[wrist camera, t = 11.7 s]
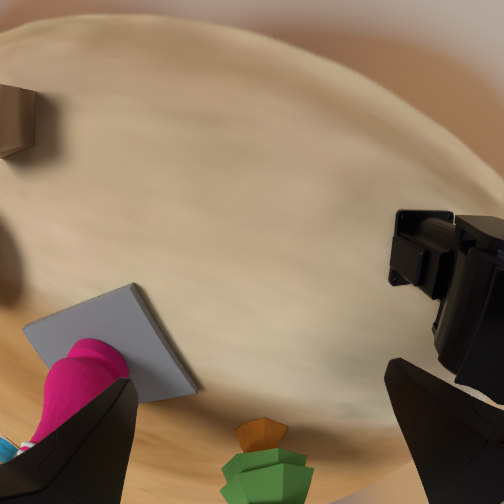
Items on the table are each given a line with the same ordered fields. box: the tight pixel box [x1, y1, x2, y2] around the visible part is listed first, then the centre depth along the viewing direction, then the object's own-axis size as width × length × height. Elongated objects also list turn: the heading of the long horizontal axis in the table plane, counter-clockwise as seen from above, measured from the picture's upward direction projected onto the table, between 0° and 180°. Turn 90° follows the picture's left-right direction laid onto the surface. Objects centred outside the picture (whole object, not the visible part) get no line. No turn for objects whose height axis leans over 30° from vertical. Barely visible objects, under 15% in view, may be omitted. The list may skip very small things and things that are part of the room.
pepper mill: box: [17, 338, 129, 455], centre depth 13 cm, size 7×7×20 cm
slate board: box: [22, 283, 197, 403], centre depth 23 cm, size 16×12×1 cm
